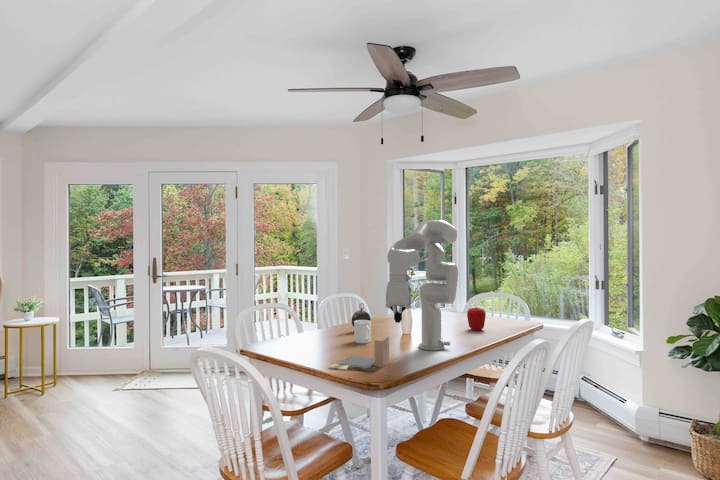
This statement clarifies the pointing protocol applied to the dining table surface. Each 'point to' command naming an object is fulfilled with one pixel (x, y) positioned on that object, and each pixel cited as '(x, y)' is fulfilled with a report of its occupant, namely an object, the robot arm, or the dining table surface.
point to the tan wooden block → (381, 351)
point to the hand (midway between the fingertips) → (397, 322)
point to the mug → (362, 331)
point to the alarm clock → (360, 315)
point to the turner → (350, 367)
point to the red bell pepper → (476, 318)
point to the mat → (358, 361)
